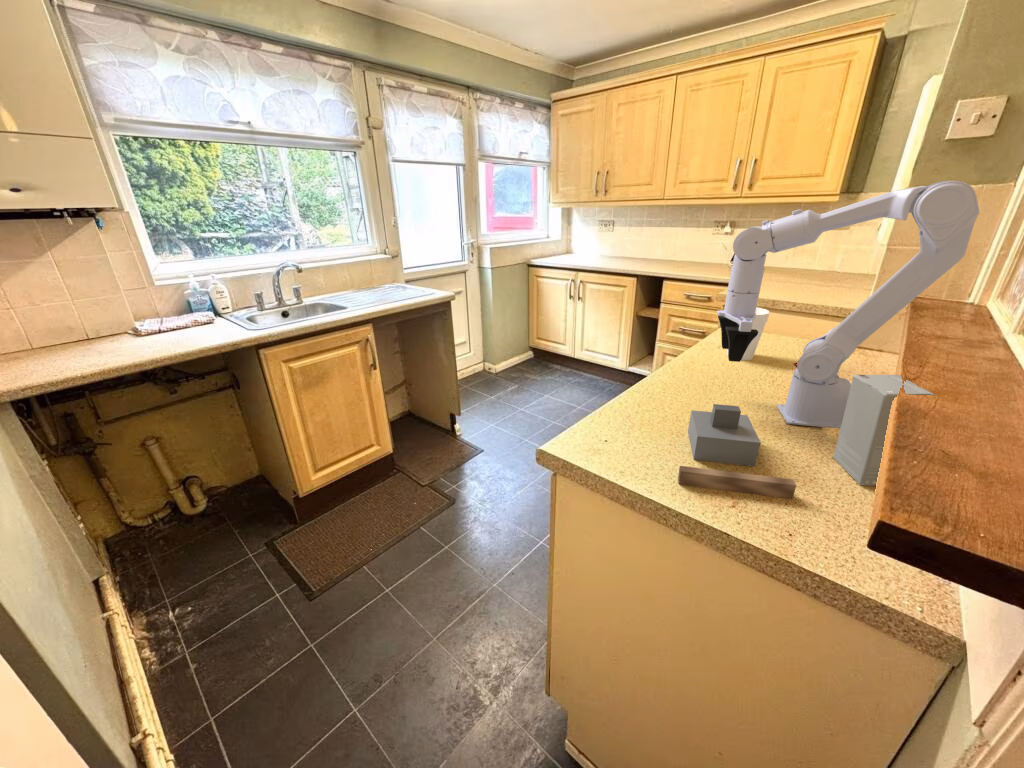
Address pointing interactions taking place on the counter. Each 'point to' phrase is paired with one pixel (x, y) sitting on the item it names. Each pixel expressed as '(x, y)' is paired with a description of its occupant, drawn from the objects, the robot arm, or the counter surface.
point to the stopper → (737, 482)
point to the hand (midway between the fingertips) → (730, 354)
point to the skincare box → (868, 423)
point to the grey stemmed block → (723, 436)
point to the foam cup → (759, 326)
